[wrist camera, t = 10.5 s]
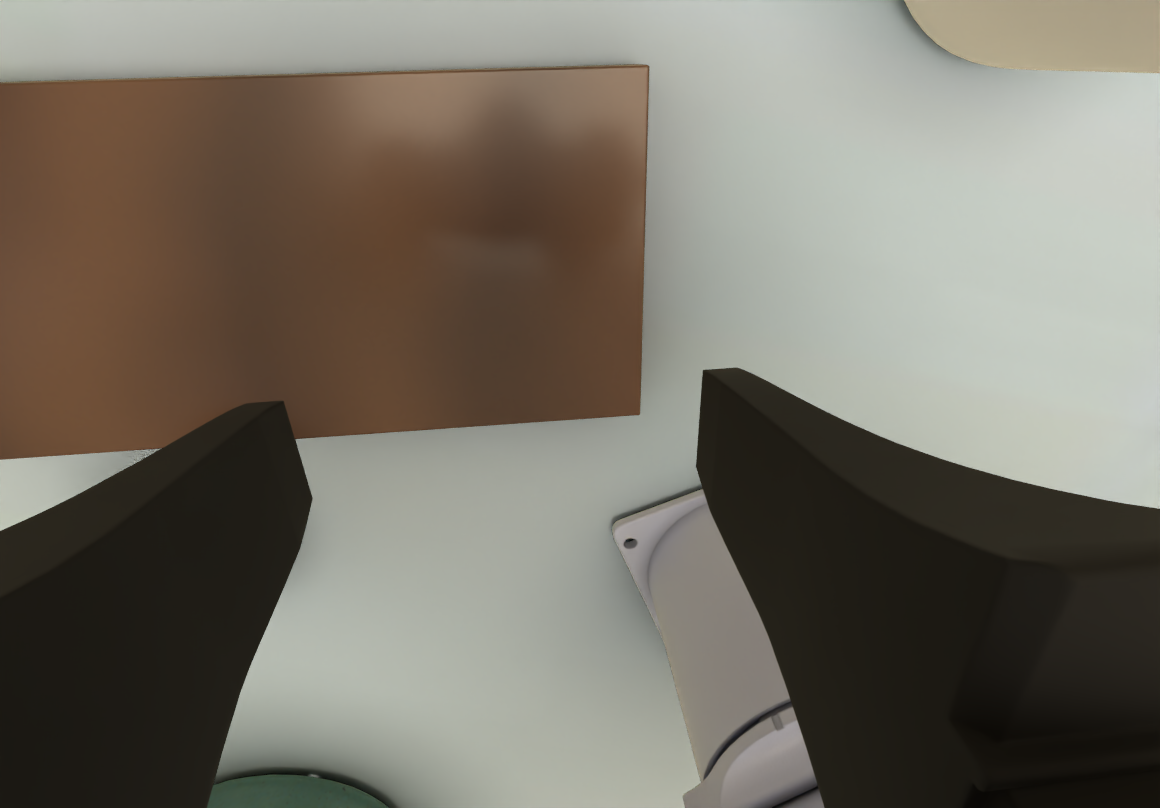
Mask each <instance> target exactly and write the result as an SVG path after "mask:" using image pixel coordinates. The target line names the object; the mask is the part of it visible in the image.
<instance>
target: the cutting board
mask: <svg viewBox="0 0 1160 808" xmlns="http://www.w3.org/2000/svg"><path fill="white" fill-rule="evenodd" d="M648 96H649V66H648V65H641V64H627V65H591V66H556V67H520V68H484V69H448V70H413V71H377V72H341V73H305V74H270V75H234V76H198V77H162V78H127V79H91V80H55V81H20V82H0V460H1V459H16V458H30V457H44V456H59V455H73V454H87V453H102V452H116V451H130V450H144V449H159V448H164V447H165V446H167V445H169V444H170V443H172V442H174V441H176V440H177V439H179V438H181V437H183V436H184V435H186V434H188V433H189V432H191V431H193V430H195V429H196V428H198V427H200V426H202V425H203V424H205V423H207V422H209V421H211V420H212V419H214V418H216V417H218V416H220V415H222V414H224V413H225V412H227V411H229V410H231V409H234V408H236V407H238V406H241V405H243V404H246V403H256V402H270V401H284V404H285V407H286V410H287V414H288V417H289V421H290V424H291V427H292V431H293V434H294V438H295V439H302V438H316V437H330V436H345V435H359V434H373V433H388V432H402V431H416V430H430V429H445V428H459V427H473V426H488V425H502V424H516V423H530V422H545V421H559V420H573V419H588V418H602V417H616V416H631V415H640V399H641V361H642V323H643V285H644V247H645V210H646V172H647V134H648Z"/></svg>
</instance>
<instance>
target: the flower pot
mask: <svg viewBox="0 0 1160 808" xmlns="http://www.w3.org/2000/svg"><path fill="white" fill-rule="evenodd" d="M207 808H388V807H387V806H386V805H385V804H383V803H382V802H381V801H379V800H378V799H376V798H374V797H373V796H371V795H369V794H367V793H365V792H363V791H361V790H358V789H356V788H354V787H351V786H348V785H345V784H342V783H339V782H336V781H331V780H326V779H321V778H316V777H310V776H301V775H262V776H251V777H244V778H239V779H234V780H228V781H225V782H222V783H219V784H216V785H213V787H212V791H211V795H210V798H209V802H208V806H207Z"/></svg>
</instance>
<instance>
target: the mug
mask: <svg viewBox="0 0 1160 808" xmlns="http://www.w3.org/2000/svg"><path fill="white" fill-rule="evenodd" d="M904 1H905V3H906V5H907V7H908V9H909V11H910V13H911V15H912V17H913V18H914V19H915V21H916V22H917V23H918V25H919V26H920V27H921V29H922V30H923V31H924V32H925V33H926V34H927V35H928V36H929V37H930V38H931V39H932V40H933V41H934V42H935V43H936V44H938V45H939V46H941V47H942V48H944V49H945V50H947V51H948V52H950V53H951V54H954V55H956V56H958V57H961V58H963V59H965V60H968V61H971V62H974V63H978V64H982V65H987V66H991V67H998V68H1007V69H1026V70H1057V71H1095V72H1134V73H1160V0H904Z"/></svg>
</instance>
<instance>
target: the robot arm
mask: <svg viewBox="0 0 1160 808" xmlns="http://www.w3.org/2000/svg"><path fill="white" fill-rule="evenodd" d="M696 468H697V471H698V474H699V478H700V481H701V485H702V488H703V489H701V490H698V491H695V492H693V493H690V494H687V495H685V496H682V497H679V498H677V499H674V500H671V501H668V502H666V503H663V504H660V505H658V506H655V507H652V508H650V509H647V510H644V511H641V512H639V513H636V514H633V515H631V516H628V517H625V518H623V519H620V520H618V521H616V522H615V523H614V525H613V527H612V533H613V537H614V540H615V542H616V544H617V546H618V548H619V550H620V552H621V554H622V556H623V558H624V561H625V563H626V565H627V567H628V569H629V571H630V573H631V575H632V577H633V579H634V581H635V583H636V585H637V587H638V590H639V592H640V594H641V596H642V598H643V600H644V602H645V604H646V606H647V608H648V610H649V612H650V614H651V616H652V618H653V621H654V623H655V625H656V627H657V629H658V631H659V633H660V635H661V637H662V639H663V641H664V644H665V648H666V652H667V656H668V660H669V663H670V667H671V671H672V675H673V678H674V682H675V686H676V690H677V694H678V697H679V701H680V705H681V709H682V712H683V716H684V720H685V724H686V728H687V731H688V735H689V739H690V743H691V746H692V750H693V754H694V758H695V762H696V765H697V769H698V773H699V777H700V781H701V783H700V784H699V785H698V786H696V787H695V788H693V789H692V790H690V791H688V792H686V793H685V794H684V795H683V800H684V805H685V808H1160V509H1157V508H1150V507H1143V506H1137V505H1130V504H1124V503H1118V502H1112V501H1107V500H1102V499H1097V498H1092V497H1087V496H1082V495H1078V494H1073V493H1068V492H1063V491H1058V490H1053V489H1049V488H1045V487H1040V486H1036V485H1032V484H1028V483H1024V482H1019V481H1015V480H1011V479H1008V478H1004V477H1001V476H997V475H993V474H990V473H986V472H983V471H979V470H975V469H972V468H968V467H965V466H962V465H958V464H955V463H952V462H949V461H946V460H942V459H939V458H937V457H934V456H931V455H928V454H925V453H923V452H920V451H917V450H914V449H912V448H909V447H906V446H903V445H900V444H898V443H895V442H893V441H890V440H888V439H885V438H883V437H880V436H878V435H875V434H873V433H871V432H869V431H866V430H864V429H862V428H860V427H857V426H855V425H853V424H851V423H849V422H846V421H844V420H842V419H840V418H838V417H836V416H834V415H832V414H830V413H827V412H825V411H823V410H821V409H819V408H817V407H815V406H813V405H812V404H810V403H808V402H806V401H804V400H802V399H800V398H798V397H796V396H794V395H792V394H790V393H788V392H787V391H785V390H783V389H781V388H779V387H777V386H775V385H773V384H771V383H769V382H768V381H766V380H764V379H762V378H760V377H758V376H756V375H754V374H751V373H749V372H747V371H745V370H742V369H739V368H726V369H712V370H703V377H702V391H701V405H700V419H699V433H698V448H697V462H696ZM311 503H312V495H311V492H310V488H309V485H308V482H307V478H306V475H305V471H304V468H303V465H302V461H301V458H300V454H299V451H298V448H297V444H296V441H295V438H294V434H293V431H292V427H291V424H290V421H289V417H288V414H287V410H286V407H285V404H284V401H270V402H256V403H246V404H243V405H241V406H238V407H236V408H234V409H231V410H229V411H227V412H225V413H224V414H222V415H220V416H218V417H216V418H214V419H212V420H211V421H209V422H207V423H205V424H203V425H202V426H200V427H198V428H196V429H195V430H193V431H191V432H189V433H188V434H186V435H184V436H183V437H181V438H179V439H177V440H176V441H174V442H172V443H170V444H169V445H167V446H165V447H164V448H162V449H160V450H158V451H157V452H155V453H153V454H151V455H150V456H148V457H146V458H145V459H143V460H141V461H139V462H137V463H136V464H134V465H132V466H130V467H128V468H126V469H124V470H123V471H121V472H119V473H117V474H115V475H113V476H111V477H110V478H108V479H106V480H104V481H102V482H100V483H98V484H97V485H95V486H93V487H91V488H89V489H87V490H85V491H84V492H82V493H80V494H78V495H76V496H74V497H72V498H70V499H68V500H66V501H64V502H62V503H60V504H58V505H56V506H54V507H52V508H50V509H48V510H46V511H44V512H42V513H39V514H37V515H35V516H33V517H31V518H29V519H26V520H24V521H22V522H20V523H17V524H15V525H13V526H11V527H9V528H6V529H4V530H2V531H0V808H207V806H208V802H209V798H210V795H211V791H212V787H213V784H214V780H215V776H216V773H217V769H218V765H219V762H220V758H221V754H222V751H223V748H224V744H225V741H226V738H227V734H228V731H229V728H230V724H231V721H232V718H233V715H234V711H235V708H236V705H237V701H238V698H239V695H240V692H241V689H242V686H243V684H244V681H245V678H246V676H247V673H248V670H249V668H250V665H251V662H252V660H253V658H254V656H255V653H256V651H257V649H258V646H259V644H260V642H261V639H262V637H263V635H264V632H265V630H266V628H267V625H268V623H269V621H270V618H271V616H272V614H273V611H274V609H275V607H276V604H277V602H278V600H279V597H280V595H281V593H282V591H283V588H284V586H285V583H286V581H287V579H288V576H289V574H290V571H291V569H292V567H293V564H294V562H295V559H296V557H297V554H298V552H299V549H300V546H301V543H302V539H303V535H304V532H305V528H306V524H307V520H308V516H309V511H310V507H311ZM630 538H633V539H634V540H633V541H631V542H625V540H627V539H630Z"/></svg>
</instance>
